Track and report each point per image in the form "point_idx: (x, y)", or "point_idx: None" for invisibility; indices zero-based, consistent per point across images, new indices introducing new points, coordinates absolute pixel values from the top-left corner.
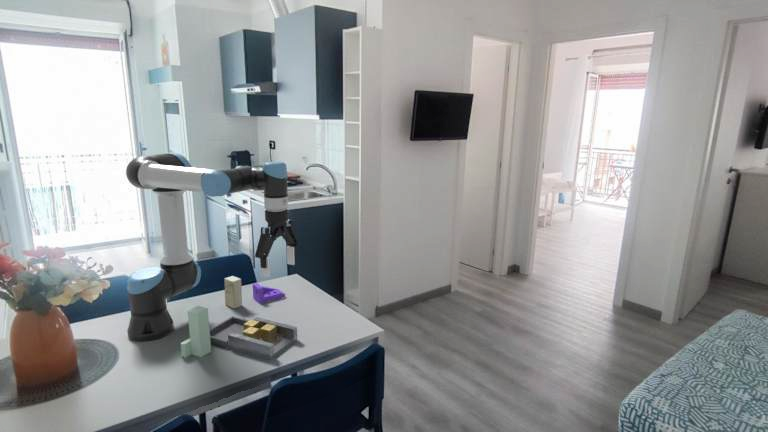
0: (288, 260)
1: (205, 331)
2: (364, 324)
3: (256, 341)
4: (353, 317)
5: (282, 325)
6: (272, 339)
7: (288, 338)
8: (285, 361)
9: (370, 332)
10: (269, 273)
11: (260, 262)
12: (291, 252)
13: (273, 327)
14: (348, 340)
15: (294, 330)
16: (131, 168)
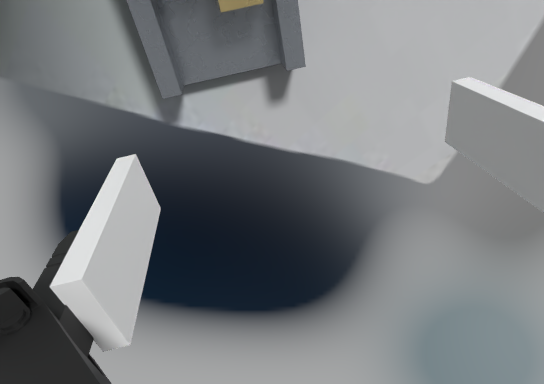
0: (472, 107)
1: None
2: None
3: (146, 31)
4: None
5: (286, 10)
6: None
7: (271, 48)
8: (194, 120)
9: (420, 178)
10: (152, 226)
11: (40, 278)
12: (528, 182)
13: (248, 3)
14: (363, 165)
15: (290, 68)
16: None
